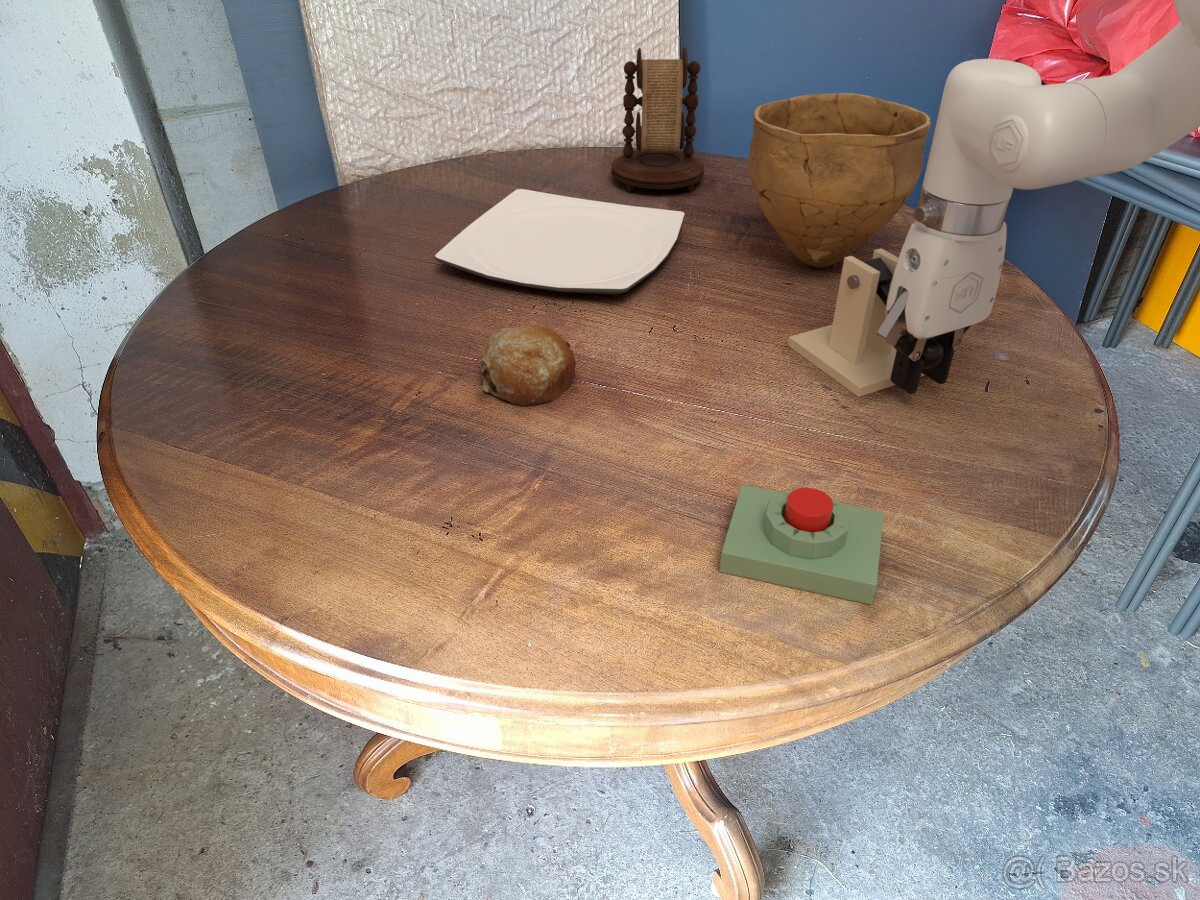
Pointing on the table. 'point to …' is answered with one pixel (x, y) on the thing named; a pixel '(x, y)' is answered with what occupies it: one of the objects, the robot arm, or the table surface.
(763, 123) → the bowl
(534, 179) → the table surface
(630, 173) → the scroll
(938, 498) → the table surface
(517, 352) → the bread roll
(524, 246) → the plate
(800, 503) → the button
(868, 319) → the lever bracket
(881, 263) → the black ball knob lever
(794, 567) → the button block
